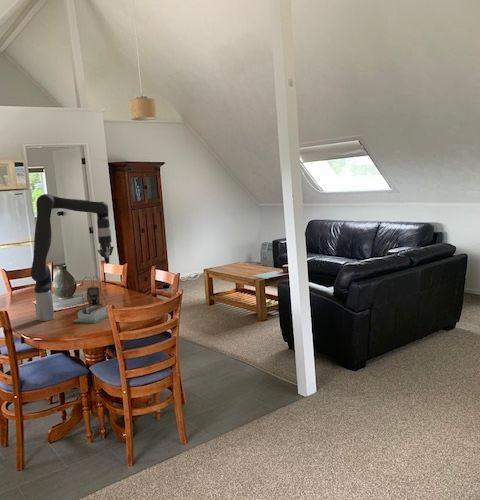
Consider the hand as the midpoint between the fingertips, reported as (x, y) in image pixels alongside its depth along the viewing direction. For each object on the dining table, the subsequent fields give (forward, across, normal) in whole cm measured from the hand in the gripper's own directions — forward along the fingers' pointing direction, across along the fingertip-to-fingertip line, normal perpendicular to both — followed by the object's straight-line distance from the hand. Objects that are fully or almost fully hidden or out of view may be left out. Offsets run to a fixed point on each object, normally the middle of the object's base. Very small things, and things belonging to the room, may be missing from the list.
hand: (107, 263), depth 301 cm
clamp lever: (+26, +12, -4) cm, 29 cm away
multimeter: (+31, -8, -19) cm, 37 cm away
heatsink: (+31, +12, -4) cm, 33 cm away
